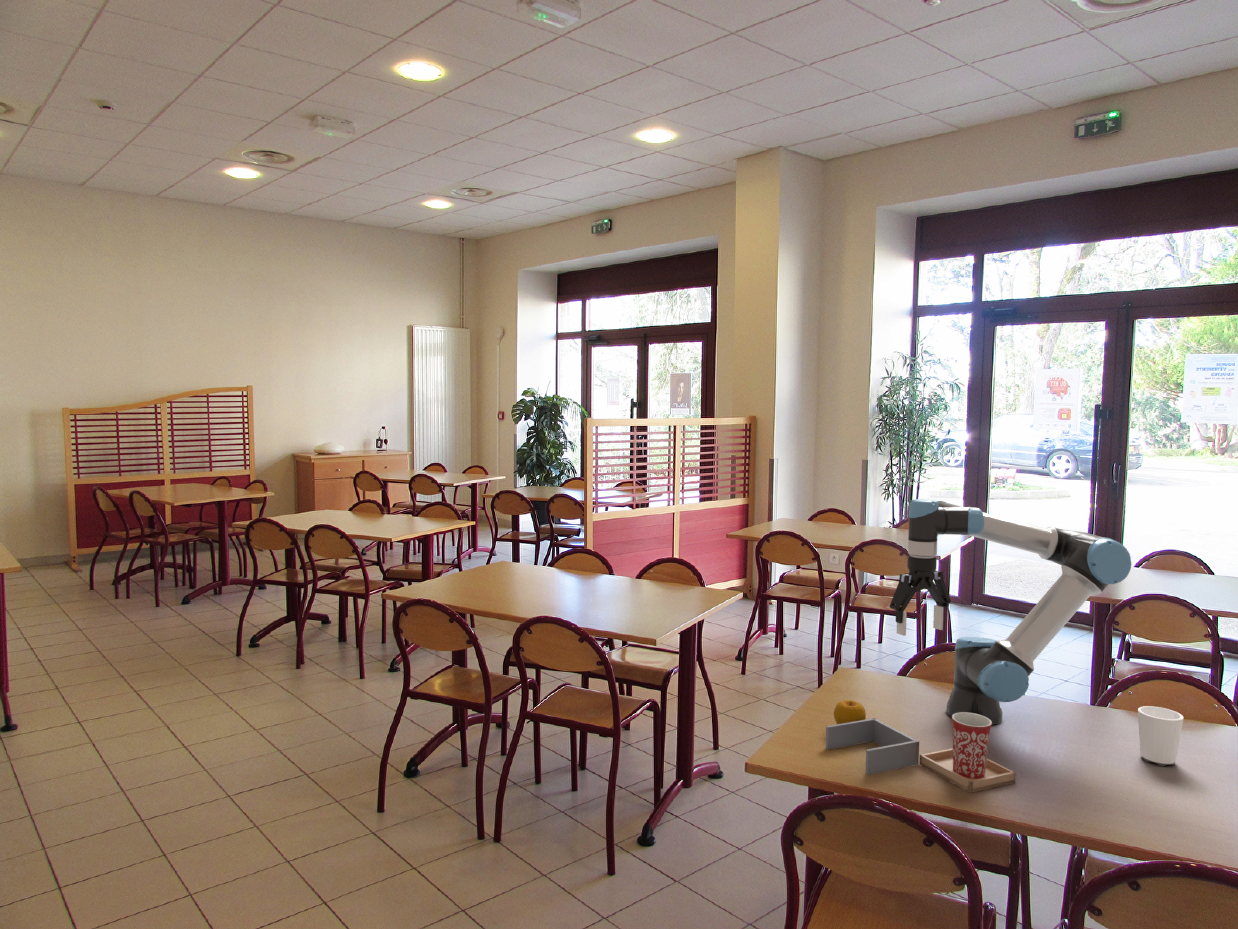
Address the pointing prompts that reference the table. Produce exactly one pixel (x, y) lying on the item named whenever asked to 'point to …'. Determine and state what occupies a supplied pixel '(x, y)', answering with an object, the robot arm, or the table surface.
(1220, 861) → the table surface
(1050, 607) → the robot arm
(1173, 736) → the cup
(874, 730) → the bay
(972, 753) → the mug
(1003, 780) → the tray
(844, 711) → the apple
